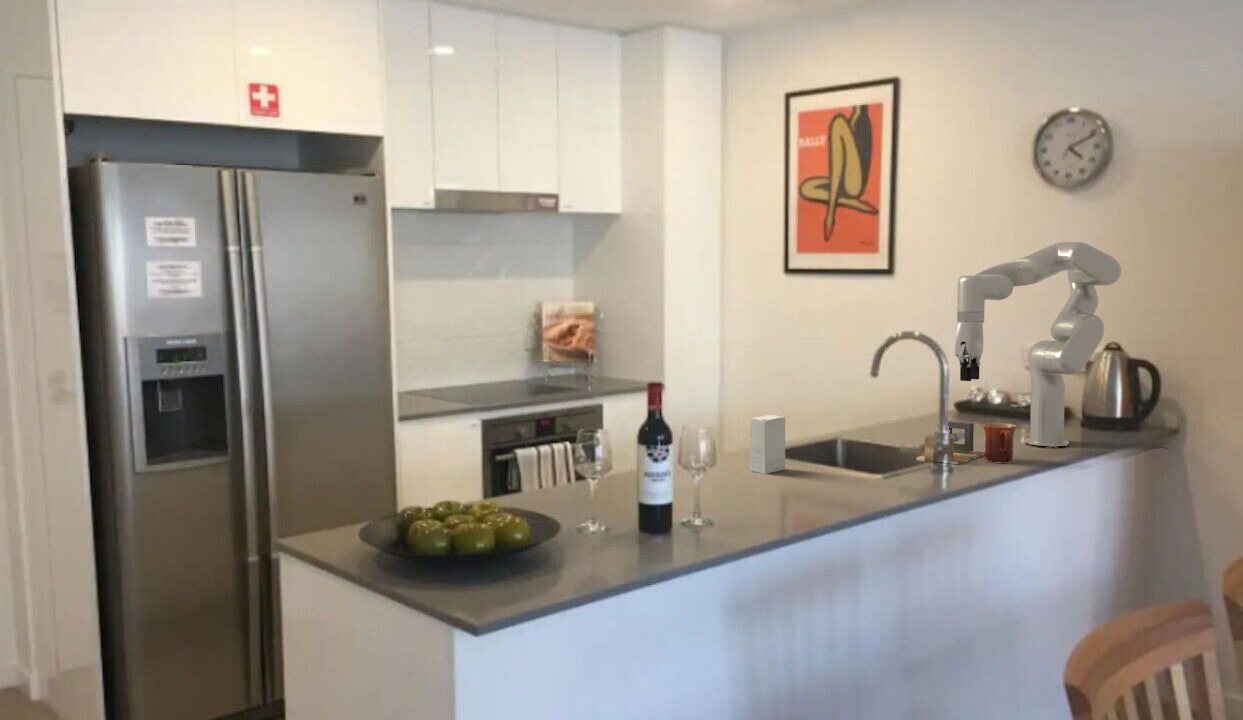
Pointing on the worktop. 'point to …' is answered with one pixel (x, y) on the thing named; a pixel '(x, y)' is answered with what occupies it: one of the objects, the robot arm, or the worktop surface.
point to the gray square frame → (968, 435)
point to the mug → (999, 441)
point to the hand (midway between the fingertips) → (969, 379)
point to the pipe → (958, 436)
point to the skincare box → (767, 444)
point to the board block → (954, 455)
